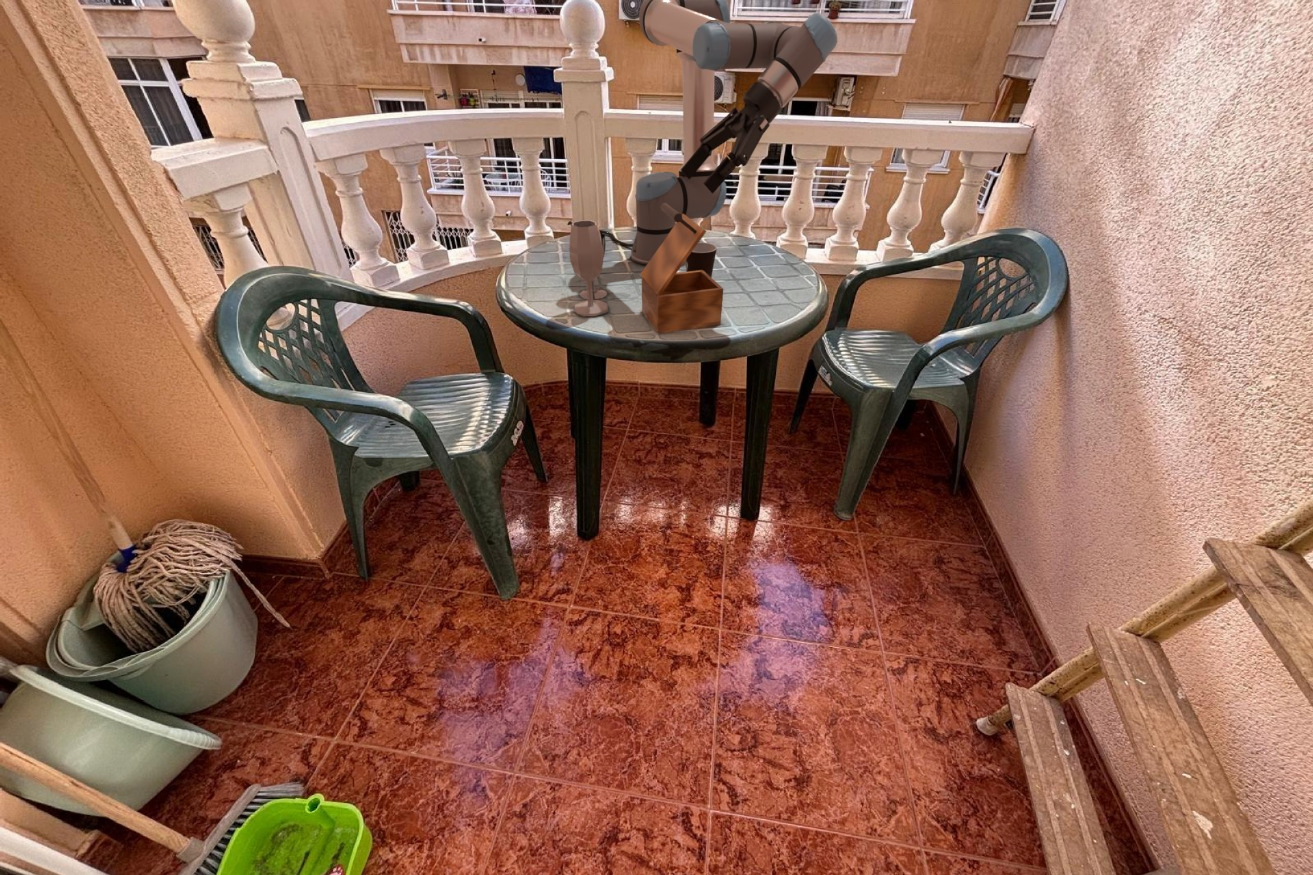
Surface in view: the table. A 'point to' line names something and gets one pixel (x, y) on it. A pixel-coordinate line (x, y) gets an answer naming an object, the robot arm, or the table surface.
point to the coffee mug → (702, 258)
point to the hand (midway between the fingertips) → (695, 181)
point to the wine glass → (596, 292)
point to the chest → (683, 303)
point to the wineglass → (587, 262)
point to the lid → (672, 250)
